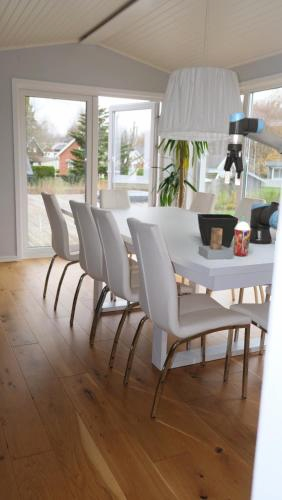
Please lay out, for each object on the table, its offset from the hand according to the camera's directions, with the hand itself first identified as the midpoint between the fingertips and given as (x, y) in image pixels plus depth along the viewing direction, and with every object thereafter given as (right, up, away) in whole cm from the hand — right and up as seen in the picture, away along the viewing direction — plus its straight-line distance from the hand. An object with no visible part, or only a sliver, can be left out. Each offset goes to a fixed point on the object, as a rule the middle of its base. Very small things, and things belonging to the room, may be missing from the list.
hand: (231, 184), depth 238 cm
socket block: (-12, -38, -16) cm, 43 cm away
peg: (-12, -38, -16) cm, 43 cm away
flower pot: (-7, -33, +13) cm, 36 cm away
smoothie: (+2, -38, -11) cm, 40 cm away
